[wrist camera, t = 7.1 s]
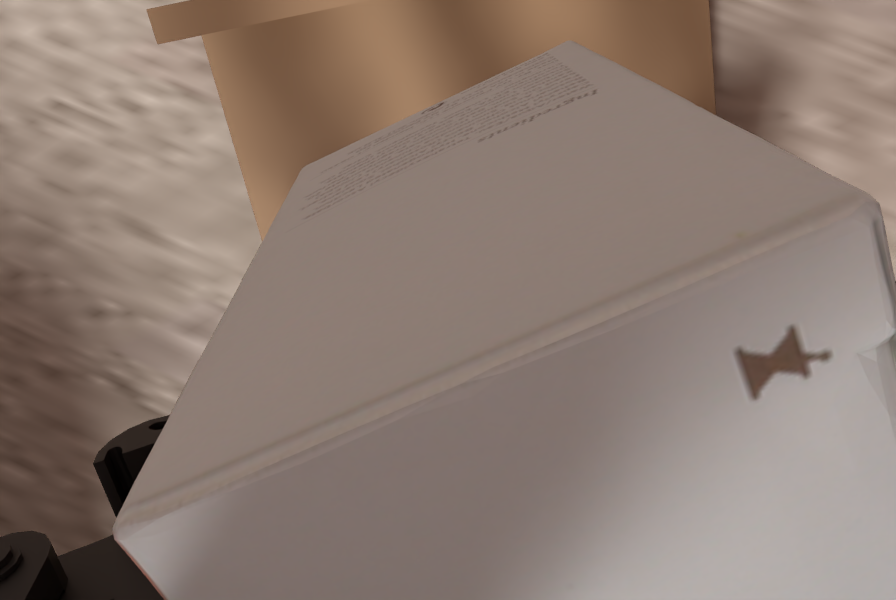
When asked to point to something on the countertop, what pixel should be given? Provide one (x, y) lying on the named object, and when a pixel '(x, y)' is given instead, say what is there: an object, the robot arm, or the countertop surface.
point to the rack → (404, 63)
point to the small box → (542, 368)
